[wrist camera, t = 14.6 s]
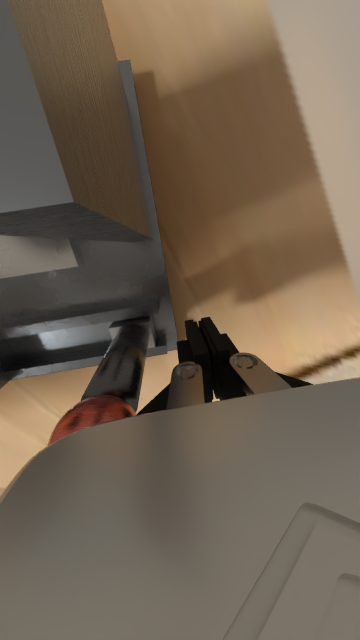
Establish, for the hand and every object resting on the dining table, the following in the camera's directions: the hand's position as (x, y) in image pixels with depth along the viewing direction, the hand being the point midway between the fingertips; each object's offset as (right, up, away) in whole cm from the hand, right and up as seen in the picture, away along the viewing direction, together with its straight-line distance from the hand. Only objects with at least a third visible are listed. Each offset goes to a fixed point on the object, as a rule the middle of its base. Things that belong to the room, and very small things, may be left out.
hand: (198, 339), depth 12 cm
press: (-10, +6, +2) cm, 12 cm away
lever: (-5, +1, +3) cm, 6 cm away
